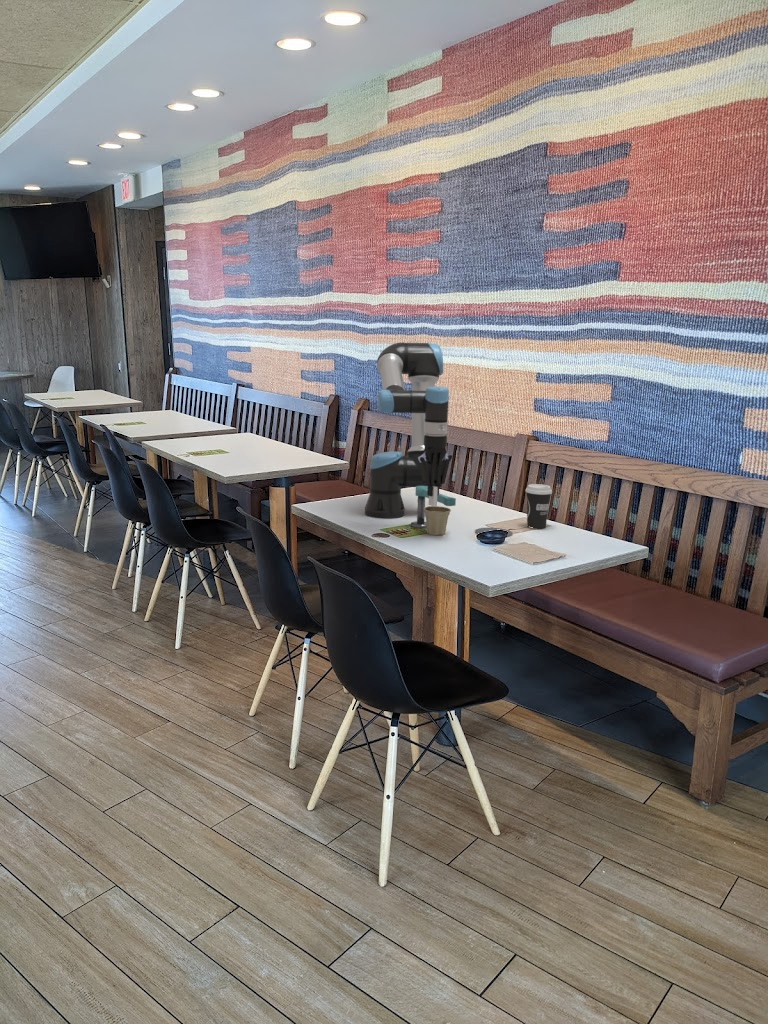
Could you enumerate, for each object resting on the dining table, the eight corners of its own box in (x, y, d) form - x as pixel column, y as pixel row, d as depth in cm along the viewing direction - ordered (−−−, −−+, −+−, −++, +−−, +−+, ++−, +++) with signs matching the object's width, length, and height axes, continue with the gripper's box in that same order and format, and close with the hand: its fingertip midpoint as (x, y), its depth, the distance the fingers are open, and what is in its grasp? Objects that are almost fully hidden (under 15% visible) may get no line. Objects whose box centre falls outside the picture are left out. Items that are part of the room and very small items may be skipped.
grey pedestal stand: (407, 524, 296) (408, 494, 294) (424, 523, 300) (425, 493, 297) (416, 529, 290) (417, 498, 288) (433, 527, 294) (435, 497, 291)
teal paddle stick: (413, 494, 293) (413, 486, 293) (423, 493, 295) (424, 485, 295) (445, 507, 274) (446, 498, 274) (457, 506, 276) (457, 497, 276)
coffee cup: (528, 530, 293) (531, 488, 290) (519, 524, 302) (521, 483, 299) (553, 529, 295) (557, 488, 292) (543, 523, 304) (546, 483, 301)
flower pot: (447, 530, 290) (448, 506, 289) (451, 536, 281) (453, 512, 279) (421, 530, 290) (422, 505, 288) (424, 536, 281) (425, 511, 279)
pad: (467, 530, 291) (467, 529, 291) (498, 527, 297) (498, 526, 296) (488, 539, 279) (488, 538, 279) (520, 535, 285) (520, 534, 285)
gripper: (425, 437, 264) (423, 509, 269) (458, 435, 271) (455, 505, 276) (412, 434, 270) (410, 505, 275) (444, 432, 277) (441, 501, 282)
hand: (432, 505), depth 275 cm, fingers closed
